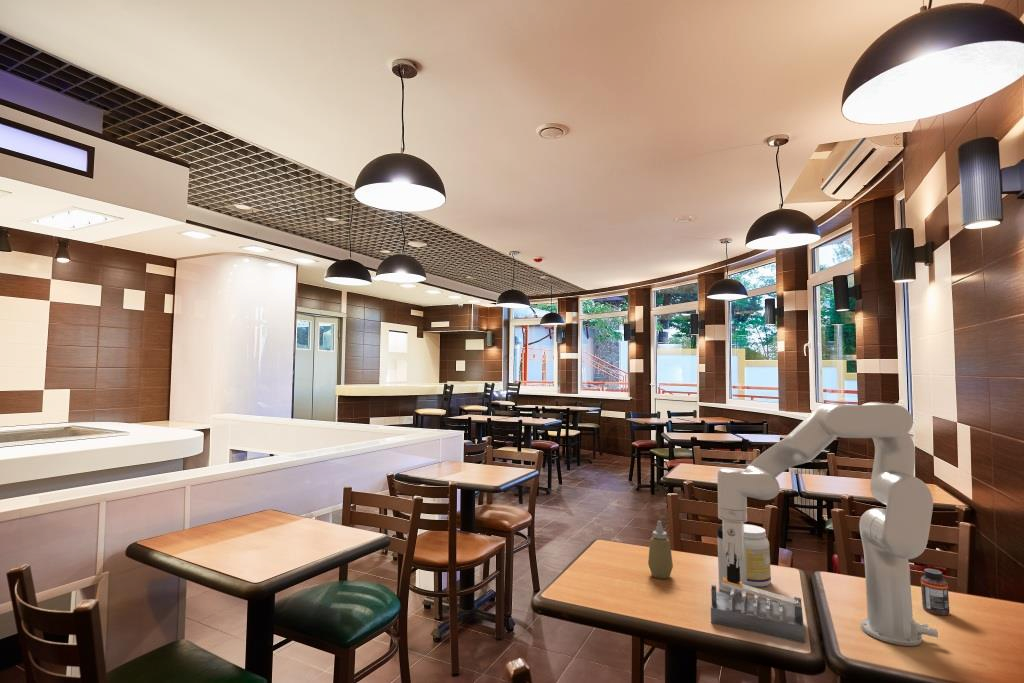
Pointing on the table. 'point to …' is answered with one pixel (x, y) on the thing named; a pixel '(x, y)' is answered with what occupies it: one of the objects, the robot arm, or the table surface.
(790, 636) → the heatsink block
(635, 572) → the table surface
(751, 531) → the supplement tub
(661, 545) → the squeeze bottle
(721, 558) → the travel mug
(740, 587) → the white orange stick
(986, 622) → the table surface
